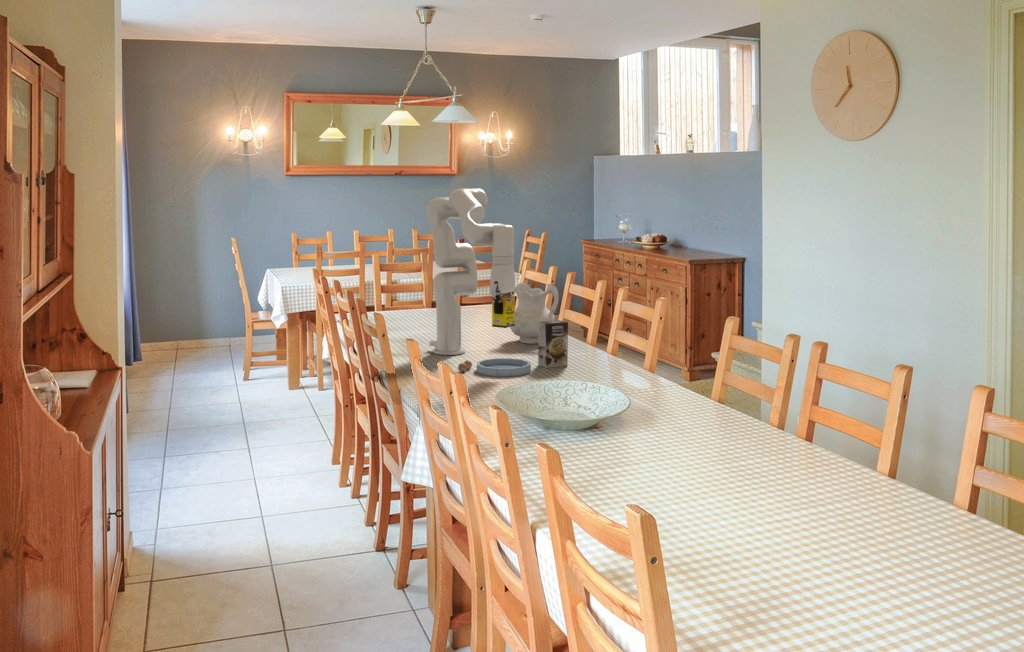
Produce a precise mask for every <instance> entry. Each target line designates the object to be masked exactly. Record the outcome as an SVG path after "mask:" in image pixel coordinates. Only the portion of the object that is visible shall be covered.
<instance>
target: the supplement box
mask: <svg viewBox="0 0 1024 652" xmlns="http://www.w3.org/2000/svg"><path fill="white" fill-rule="evenodd" d="M498 297H500V296H498ZM515 298H516V297H515V294H514V295H508V294H507V295H505V294H503V297H502V302H503V314H495V313H494V302H493V298H492V297H491V301H492V302H491V308H492V309H491V318H492V319H491V325H492V327H493V328H504V329H507V328H510V327H511V326H515V309H516V305H515V303H516V302H515V301H516V299H515Z"/></svg>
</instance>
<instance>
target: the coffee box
mask: <svg viewBox="0 0 1024 652" xmlns="http://www.w3.org/2000/svg"><path fill="white" fill-rule="evenodd" d="M537 348H538V351H537V352H538V353H537V354H538V355H537V356H538V360H537V363H538V365H537V366H541V367H543V368H545V369H549V368H550V369H551V368H557V367H561V368H562V367H567V366H568V359H569V358H568V357H569V355H568V354H569V352H568V351H569V349H568V348H569V322H568V321H565V320H559V319H558V320H555V321H543V322H539V343H538V347H537Z"/></svg>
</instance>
